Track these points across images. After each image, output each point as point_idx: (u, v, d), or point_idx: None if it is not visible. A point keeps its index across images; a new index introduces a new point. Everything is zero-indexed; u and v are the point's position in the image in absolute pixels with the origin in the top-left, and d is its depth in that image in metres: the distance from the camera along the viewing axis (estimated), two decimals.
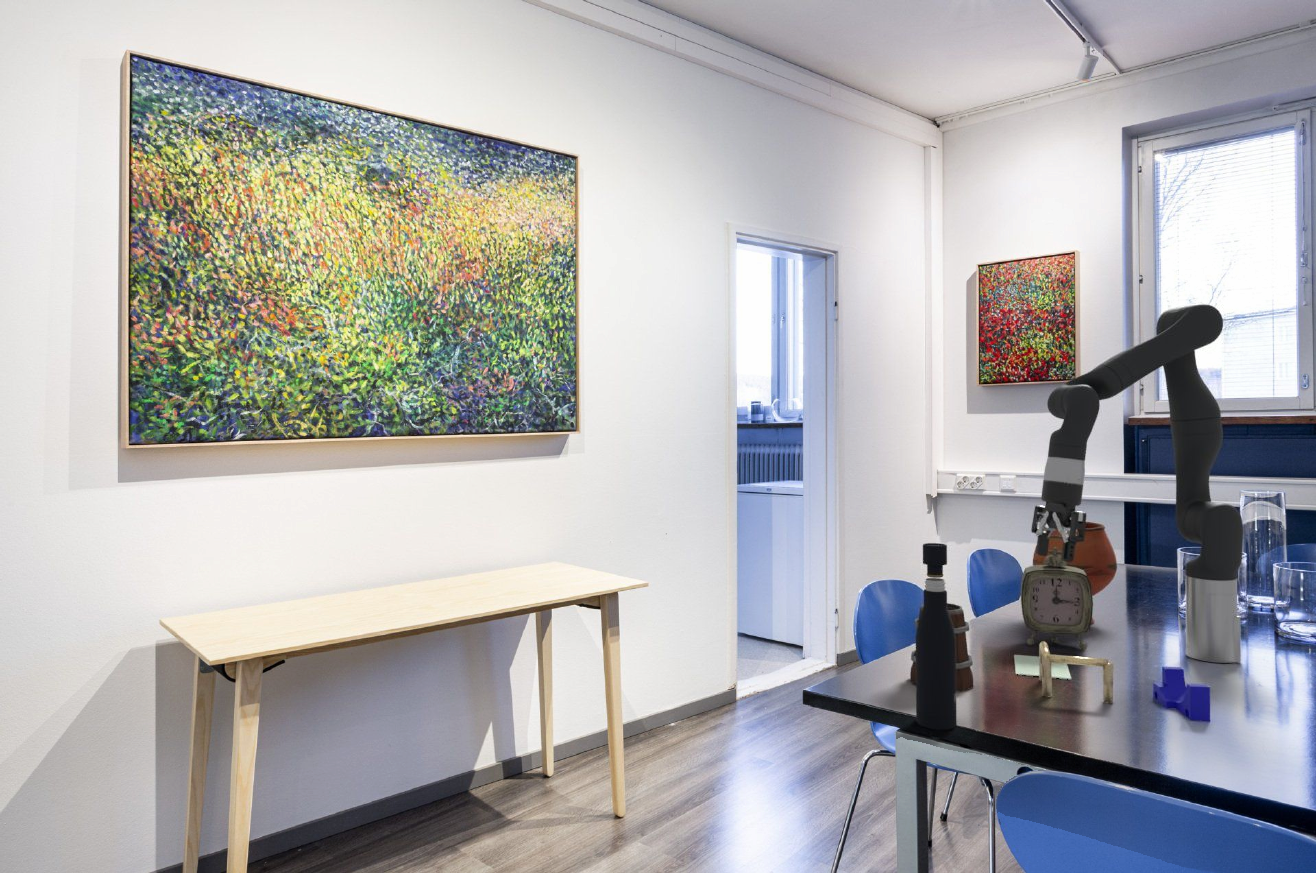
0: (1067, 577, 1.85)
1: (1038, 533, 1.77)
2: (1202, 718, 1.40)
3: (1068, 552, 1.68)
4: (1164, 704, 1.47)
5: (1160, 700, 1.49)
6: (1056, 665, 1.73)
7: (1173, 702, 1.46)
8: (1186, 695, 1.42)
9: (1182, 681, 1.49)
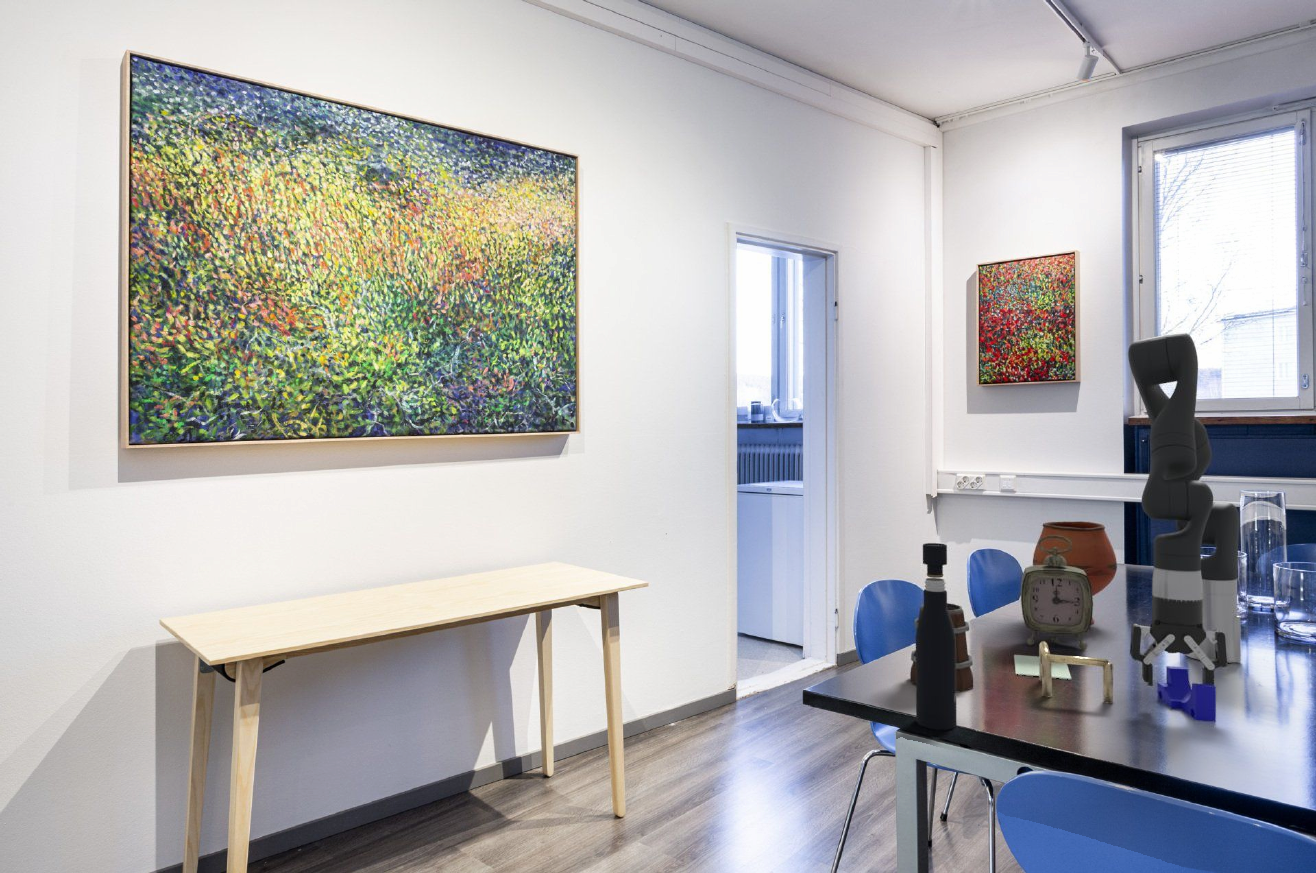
0: (1067, 577, 1.85)
1: (1149, 660, 1.46)
2: (1208, 718, 1.40)
3: (1213, 680, 1.43)
4: (1169, 704, 1.47)
5: (1165, 700, 1.49)
6: (1056, 665, 1.73)
7: (1178, 702, 1.46)
8: (1192, 695, 1.42)
9: (1186, 681, 1.50)
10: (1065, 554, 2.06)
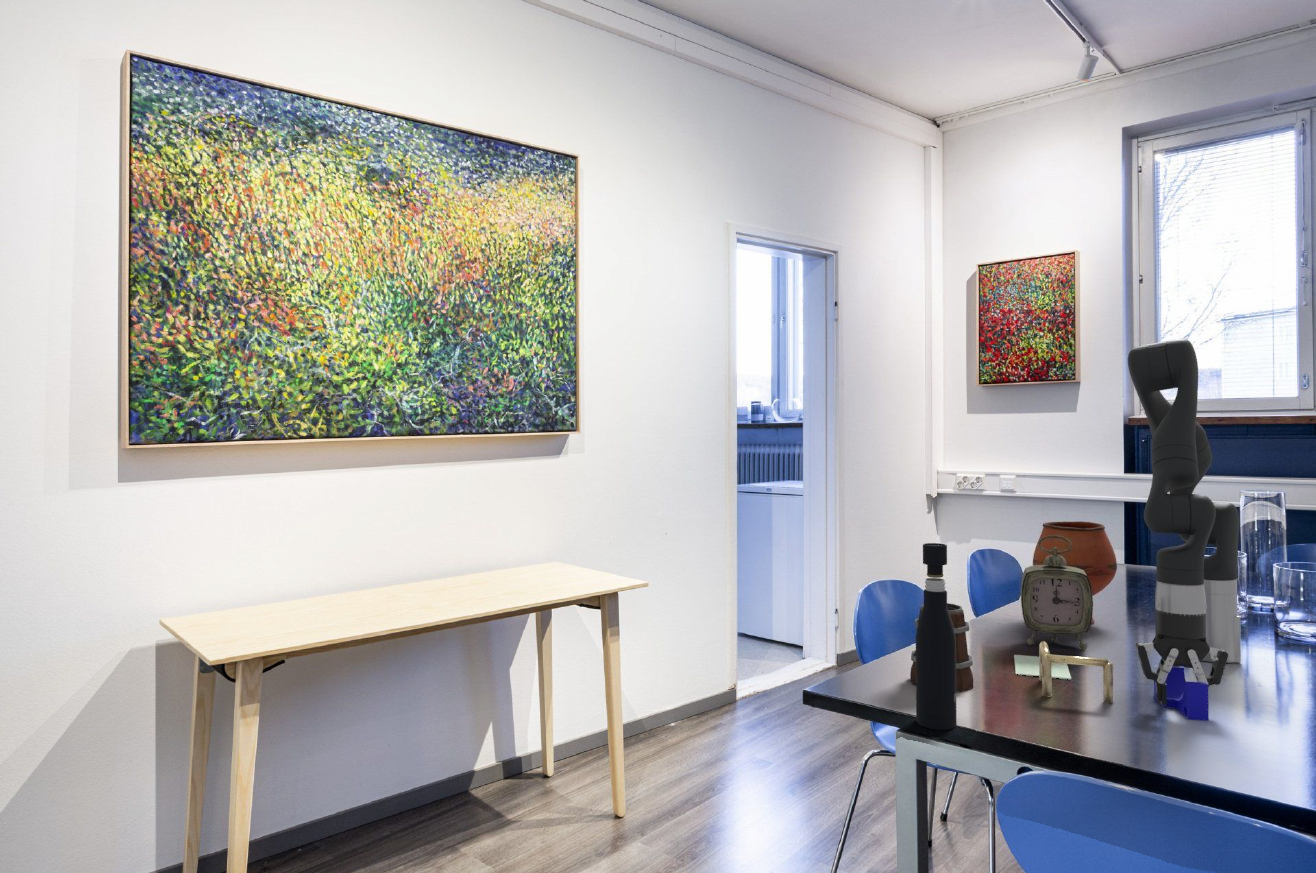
0: (1067, 577, 1.85)
1: (1163, 680, 1.46)
2: (1200, 716, 1.40)
3: None
4: None
5: None
6: (1056, 665, 1.73)
7: (1172, 700, 1.47)
8: (1185, 693, 1.42)
9: (1182, 679, 1.50)
10: (1065, 554, 2.06)
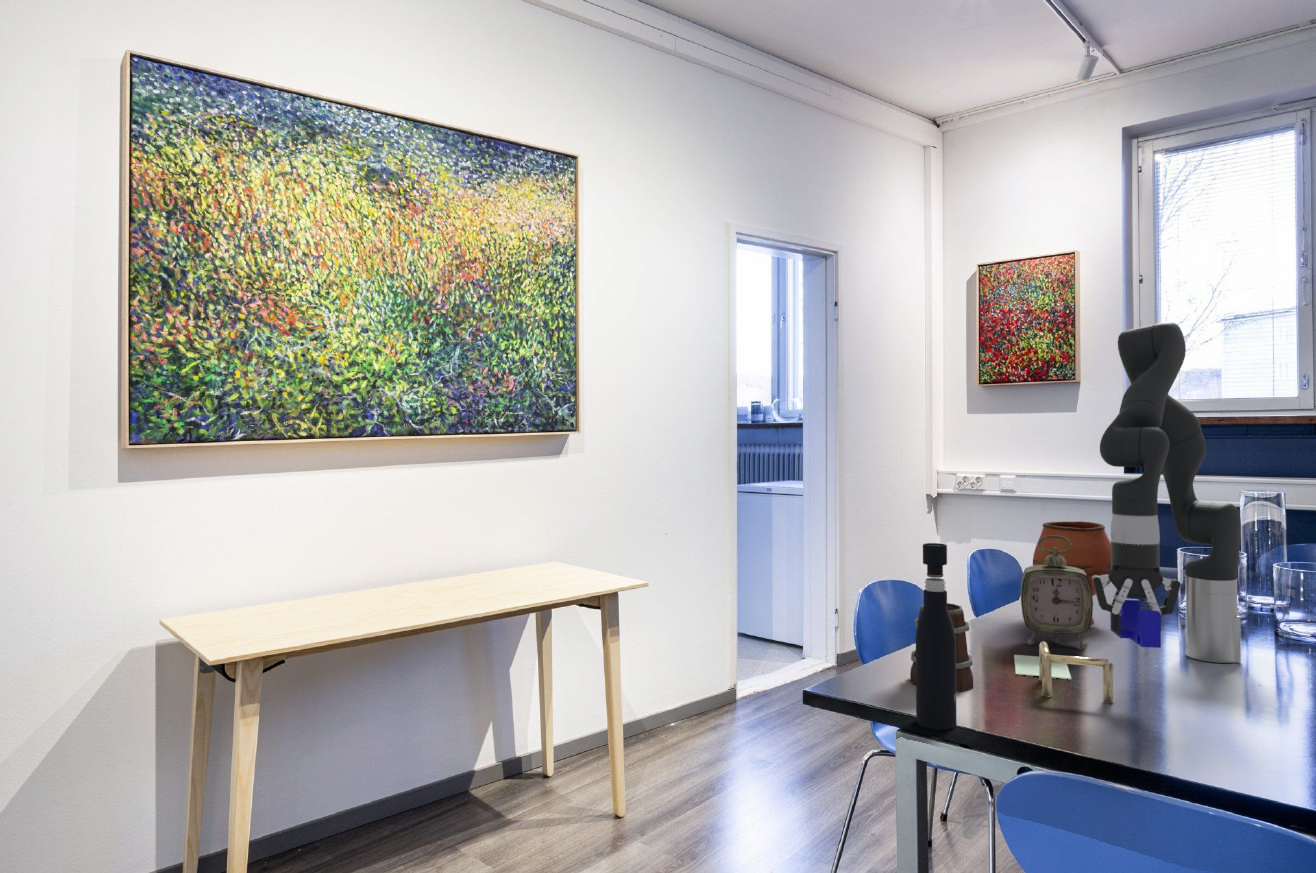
0: (1067, 577, 1.85)
1: (1118, 610, 1.48)
2: (1153, 643, 1.43)
3: None
4: None
5: None
6: (1056, 665, 1.73)
7: (1127, 630, 1.49)
8: (1138, 621, 1.45)
9: (1138, 611, 1.52)
10: (1065, 554, 2.06)
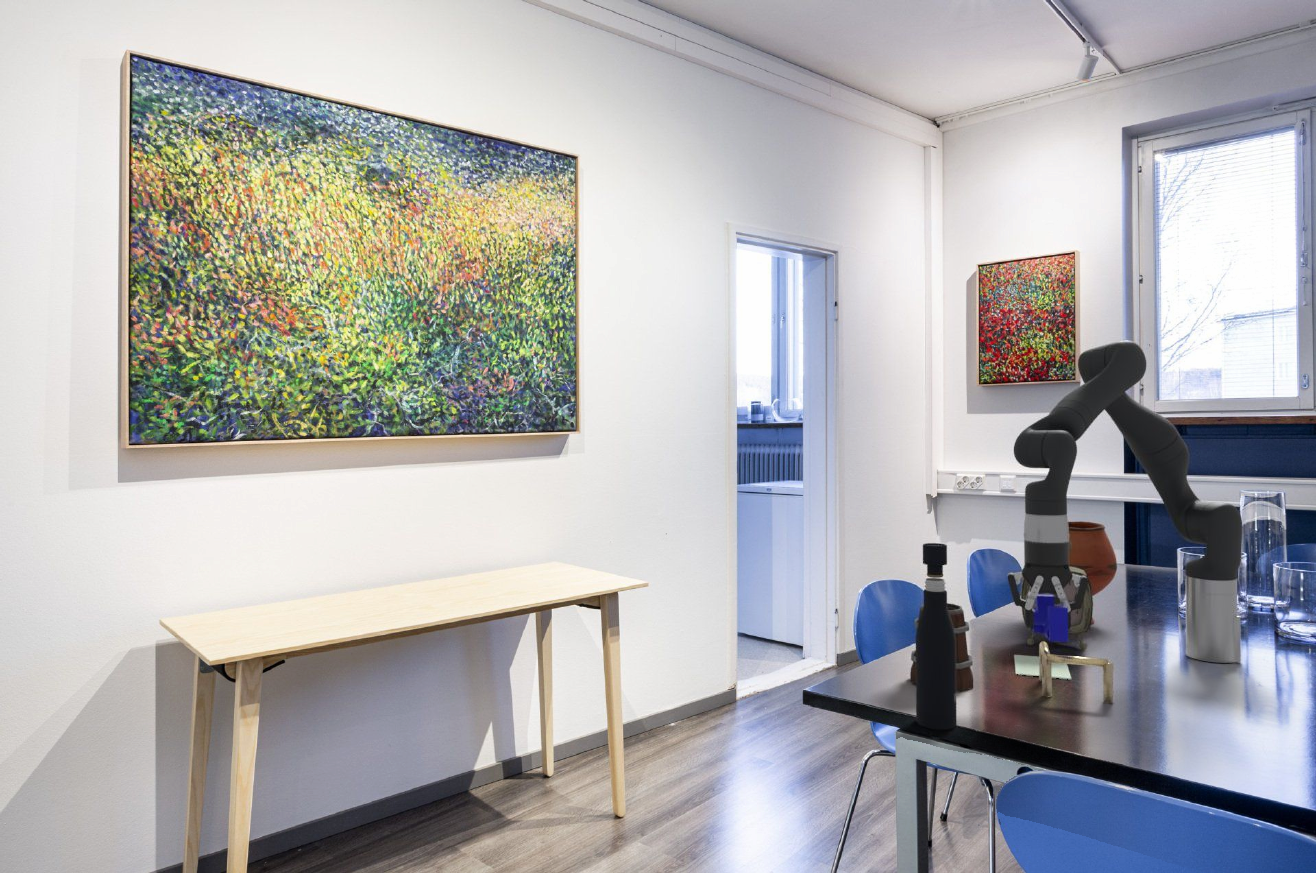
0: None
1: (1030, 606, 1.54)
2: (1061, 637, 1.49)
3: (1070, 621, 1.53)
4: None
5: None
6: (1056, 665, 1.73)
7: (1040, 625, 1.55)
8: (1047, 616, 1.51)
9: None
10: None
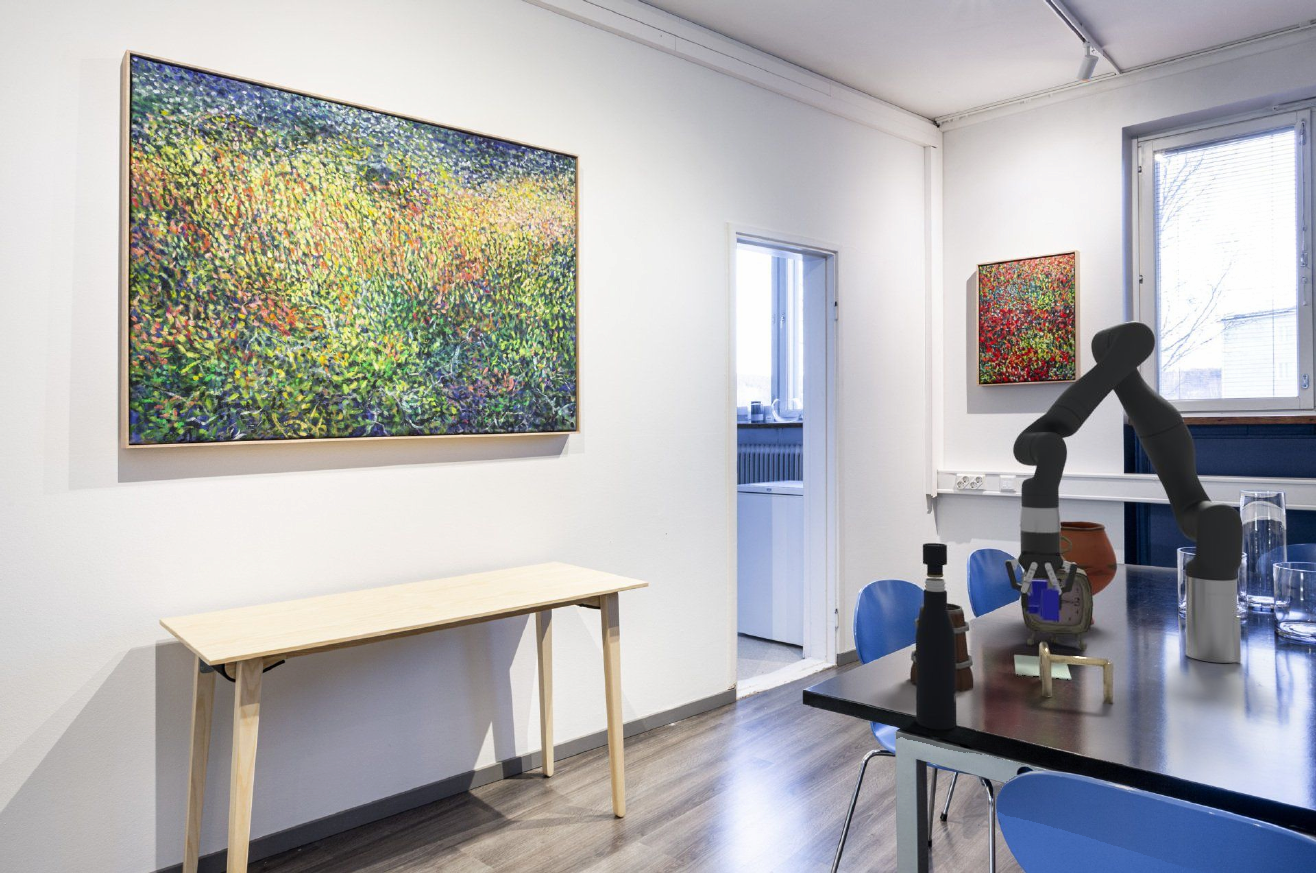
0: None
1: (1025, 589, 1.72)
2: (1052, 617, 1.67)
3: (1061, 603, 1.70)
4: None
5: None
6: (1056, 665, 1.73)
7: (1034, 607, 1.73)
8: (1041, 598, 1.69)
9: None
10: (1065, 554, 2.06)
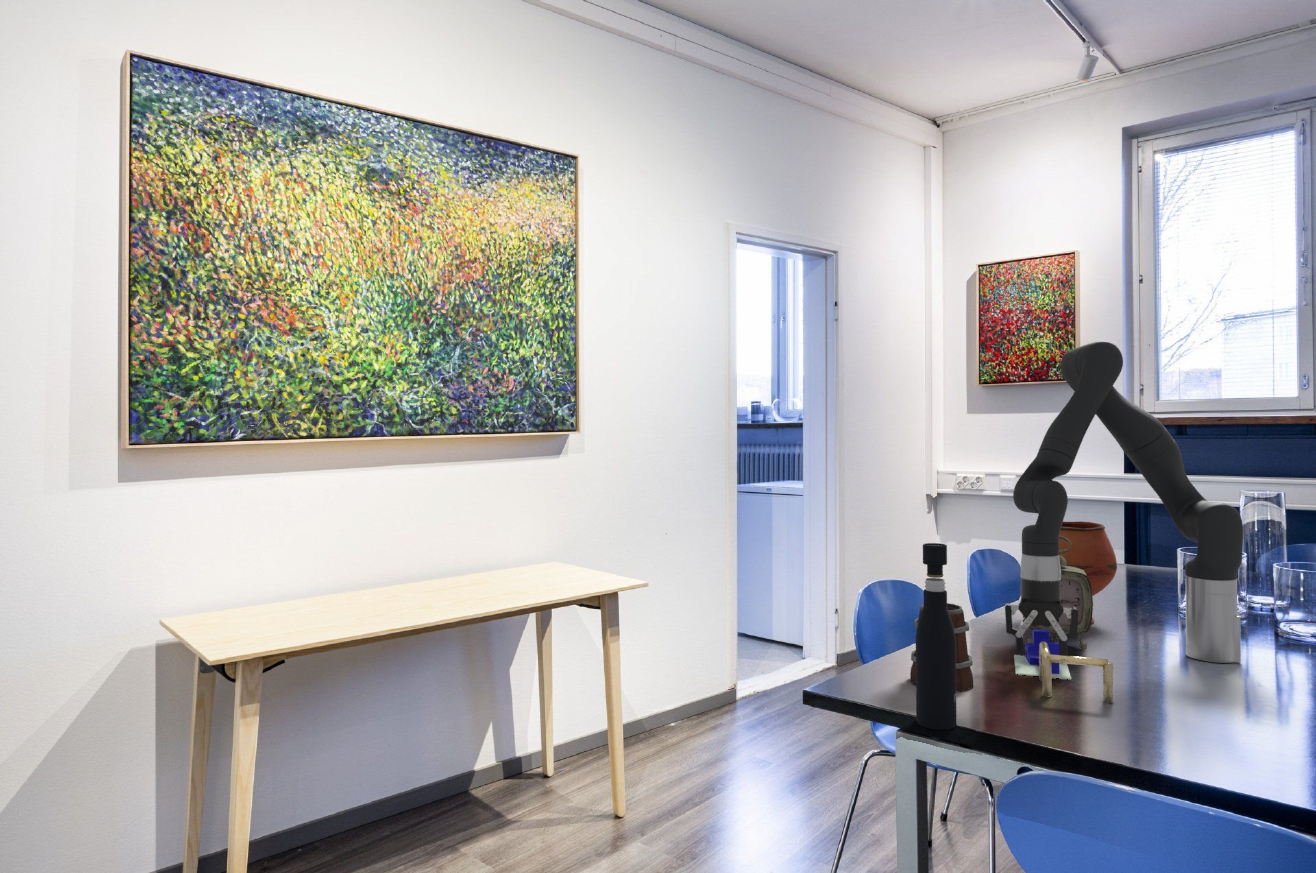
0: (1067, 577, 1.85)
1: (1020, 634, 1.73)
2: (1053, 670, 1.67)
3: (1066, 649, 1.70)
4: (1029, 660, 1.74)
5: (1027, 657, 1.76)
6: None
7: (1035, 658, 1.73)
8: None
9: (1047, 641, 1.76)
10: (1065, 554, 2.06)
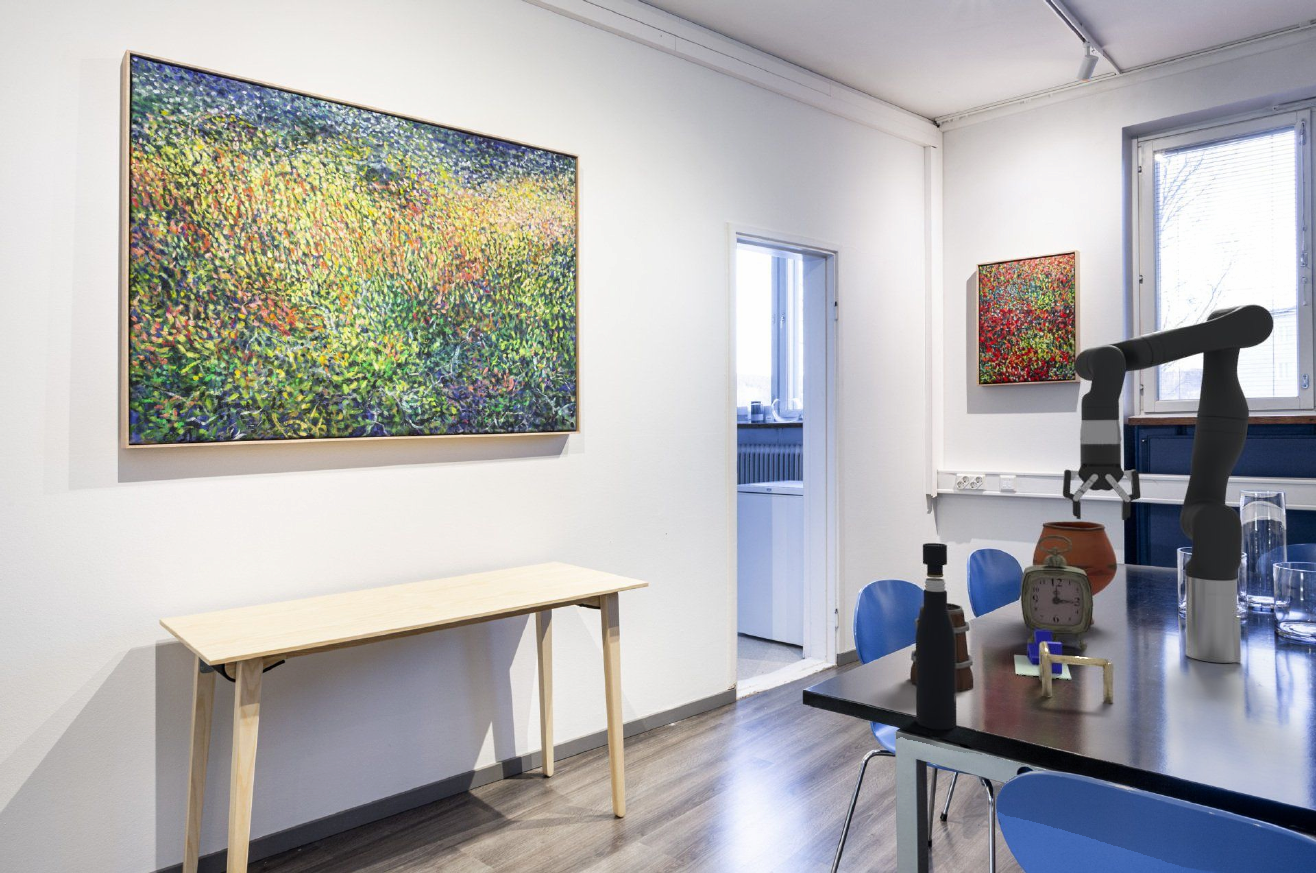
0: (1067, 577, 1.85)
1: (1078, 497, 1.76)
2: (1055, 670, 1.67)
3: (1129, 510, 1.73)
4: (1031, 660, 1.74)
5: (1030, 657, 1.76)
6: None
7: (1038, 658, 1.73)
8: None
9: (1049, 641, 1.76)
10: (1065, 554, 2.06)
